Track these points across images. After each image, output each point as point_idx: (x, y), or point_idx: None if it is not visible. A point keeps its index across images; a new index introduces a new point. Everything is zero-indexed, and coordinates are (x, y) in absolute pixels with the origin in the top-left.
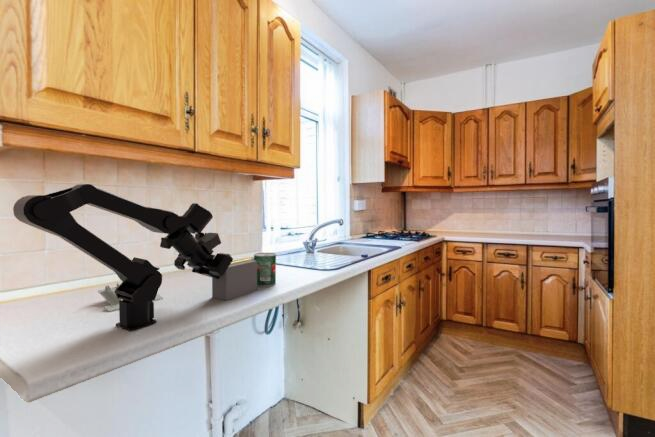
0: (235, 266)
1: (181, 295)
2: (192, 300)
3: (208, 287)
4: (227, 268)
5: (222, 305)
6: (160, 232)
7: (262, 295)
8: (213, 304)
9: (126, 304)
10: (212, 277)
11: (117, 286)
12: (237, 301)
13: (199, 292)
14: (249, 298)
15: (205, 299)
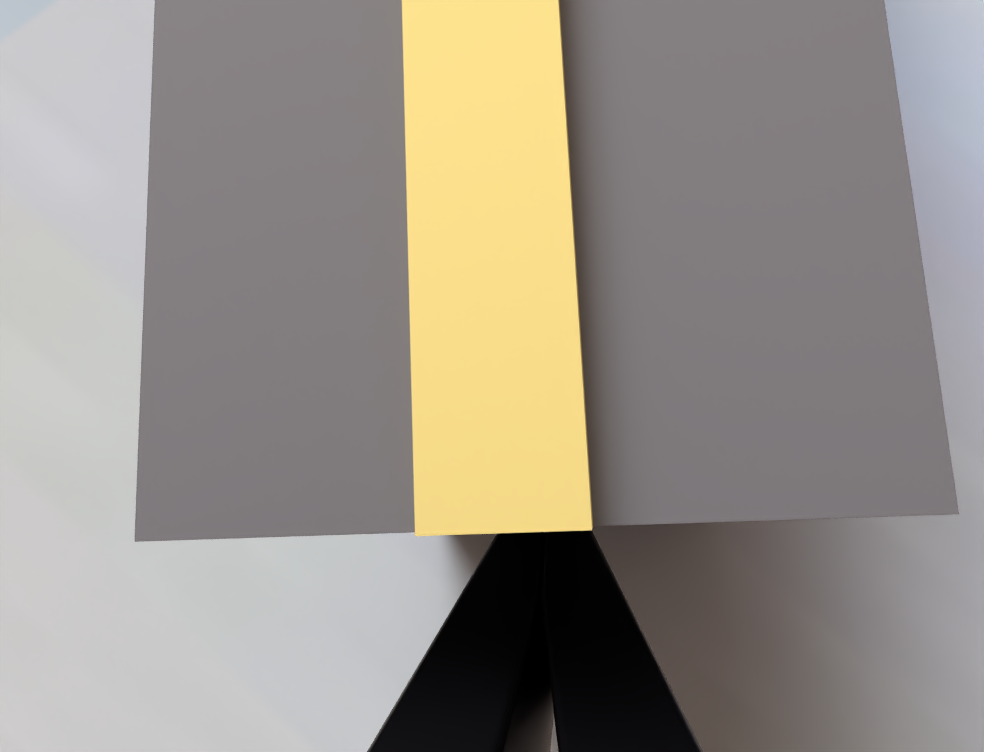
0: (868, 14)
1: (25, 661)
2: (319, 747)
3: (36, 212)
4: (932, 448)
5: (869, 693)
6: None
7: (946, 21)
8: (717, 728)
9: None
10: (546, 750)
11: None
12: None
13: (111, 432)
14: None
15: (428, 615)
